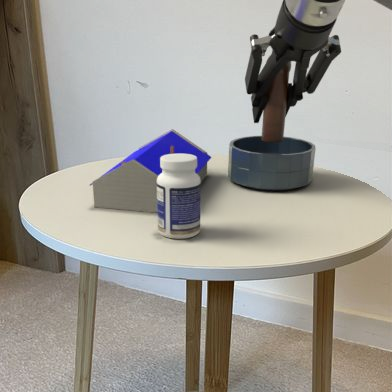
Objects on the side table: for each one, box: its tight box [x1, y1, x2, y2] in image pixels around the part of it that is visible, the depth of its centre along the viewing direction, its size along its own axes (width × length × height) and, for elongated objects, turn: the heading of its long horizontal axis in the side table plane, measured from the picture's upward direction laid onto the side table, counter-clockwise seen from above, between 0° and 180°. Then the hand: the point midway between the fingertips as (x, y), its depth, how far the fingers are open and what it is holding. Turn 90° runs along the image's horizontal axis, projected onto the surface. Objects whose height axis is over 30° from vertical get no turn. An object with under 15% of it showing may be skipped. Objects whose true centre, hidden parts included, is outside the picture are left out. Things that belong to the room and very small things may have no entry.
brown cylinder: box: [261, 54, 292, 143], centre depth 96 cm, size 4×4×13 cm
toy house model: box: [89, 128, 212, 214], centre depth 95 cm, size 22×14×7 cm, turn 167°
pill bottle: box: [156, 153, 202, 240], centre depth 78 cm, size 6×6×10 cm
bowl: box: [227, 135, 316, 192], centre depth 101 cm, size 14×14×6 cm
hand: (267, 115), depth 101 cm, fingers closed on brown cylinder, 4 cm apart
